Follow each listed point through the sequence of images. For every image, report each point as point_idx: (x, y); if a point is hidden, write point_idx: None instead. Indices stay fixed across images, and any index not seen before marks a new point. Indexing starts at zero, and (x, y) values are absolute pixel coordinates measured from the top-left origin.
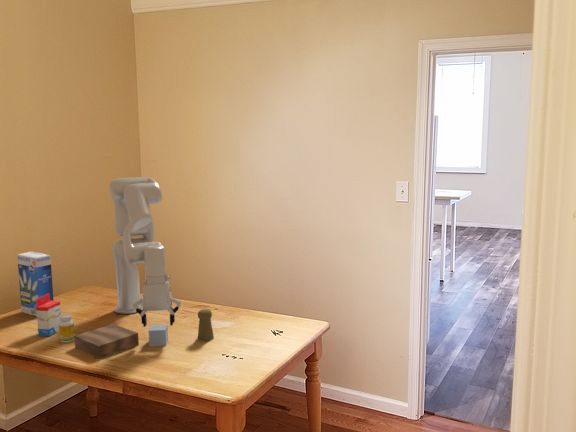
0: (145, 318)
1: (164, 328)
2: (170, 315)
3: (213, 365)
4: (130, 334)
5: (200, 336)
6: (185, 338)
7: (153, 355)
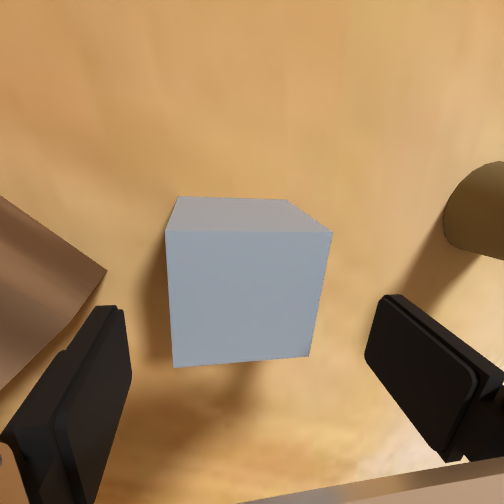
0: (100, 438)
1: (303, 327)
2: (444, 458)
3: (419, 441)
4: (8, 349)
5: (471, 246)
6: (386, 194)
7: (223, 390)
